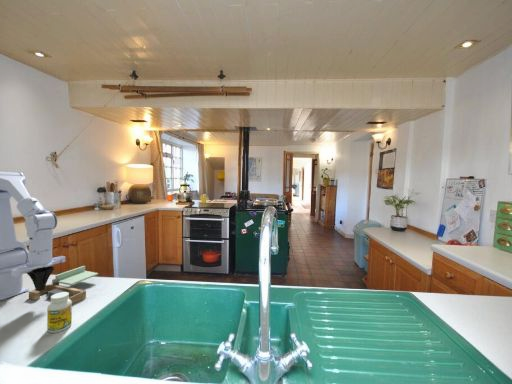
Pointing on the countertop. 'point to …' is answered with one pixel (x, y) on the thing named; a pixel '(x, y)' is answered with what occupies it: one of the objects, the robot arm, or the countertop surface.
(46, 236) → the robot arm
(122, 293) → the countertop surface
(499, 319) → the countertop surface
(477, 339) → the countertop surface
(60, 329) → the supplement bottle
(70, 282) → the cover
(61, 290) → the gray rectangular block
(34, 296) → the brown wooden frame
